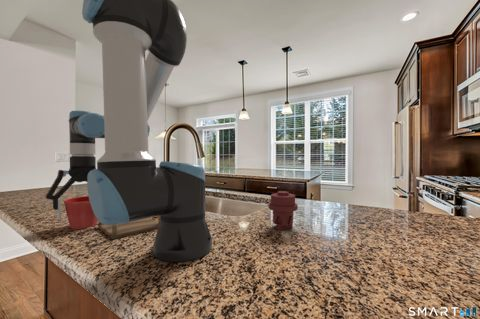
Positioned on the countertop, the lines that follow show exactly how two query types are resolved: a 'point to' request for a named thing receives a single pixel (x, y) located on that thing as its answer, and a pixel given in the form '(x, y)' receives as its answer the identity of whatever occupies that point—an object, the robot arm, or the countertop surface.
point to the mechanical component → (283, 209)
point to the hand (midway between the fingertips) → (83, 215)
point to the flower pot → (80, 212)
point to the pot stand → (129, 227)
